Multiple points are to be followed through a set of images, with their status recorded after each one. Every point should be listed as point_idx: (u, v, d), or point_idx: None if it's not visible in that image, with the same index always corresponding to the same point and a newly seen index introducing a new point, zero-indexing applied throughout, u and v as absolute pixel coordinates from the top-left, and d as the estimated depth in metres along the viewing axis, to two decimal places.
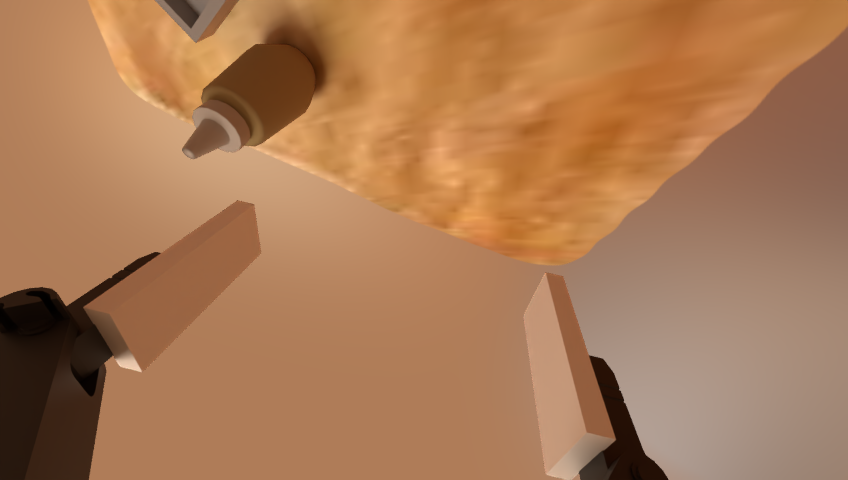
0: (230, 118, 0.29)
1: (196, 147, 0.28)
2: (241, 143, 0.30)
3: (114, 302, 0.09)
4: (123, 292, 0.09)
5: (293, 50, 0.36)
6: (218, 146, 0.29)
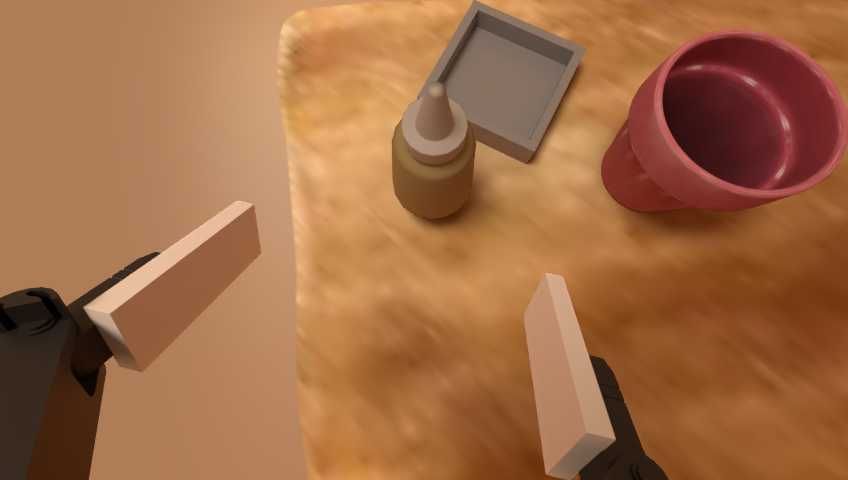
0: (463, 141, 0.22)
1: (445, 101, 0.19)
2: (434, 156, 0.22)
3: (114, 302, 0.09)
4: (123, 292, 0.09)
5: None
6: (432, 128, 0.21)
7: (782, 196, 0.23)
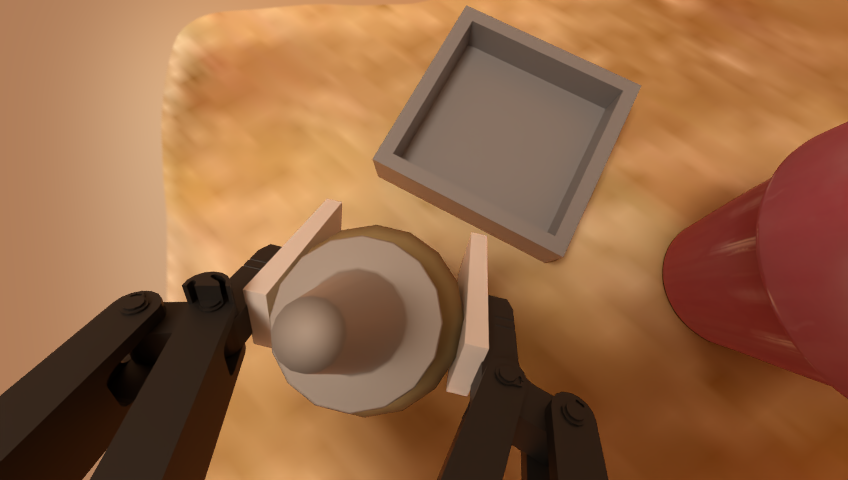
0: None
1: (352, 351, 0.05)
2: (353, 411, 0.08)
3: (265, 285, 0.10)
4: (268, 277, 0.11)
5: None
6: None
7: None
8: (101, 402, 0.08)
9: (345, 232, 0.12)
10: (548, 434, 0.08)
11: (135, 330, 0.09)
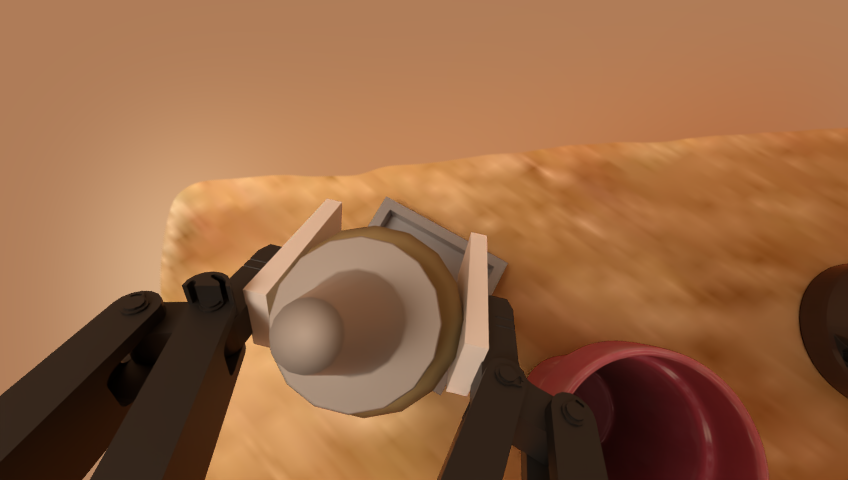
0: None
1: (350, 352, 0.05)
2: (352, 412, 0.08)
3: (265, 285, 0.10)
4: (268, 277, 0.11)
5: None
6: None
7: None
8: (101, 402, 0.08)
9: (344, 232, 0.12)
10: (548, 434, 0.08)
11: (135, 330, 0.09)
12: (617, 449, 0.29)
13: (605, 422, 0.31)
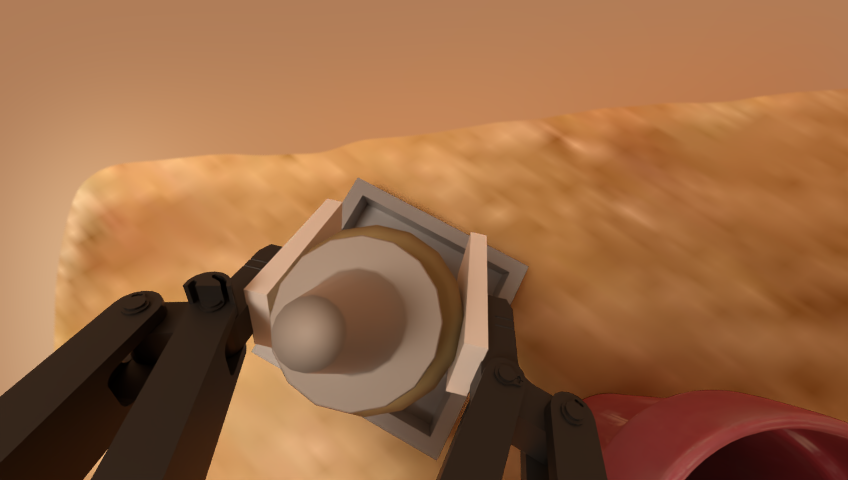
0: None
1: (352, 351, 0.05)
2: (353, 411, 0.08)
3: (266, 285, 0.10)
4: (269, 277, 0.11)
5: None
6: None
7: None
8: (102, 402, 0.08)
9: (345, 232, 0.12)
10: (547, 433, 0.08)
11: (136, 330, 0.09)
12: None
13: None
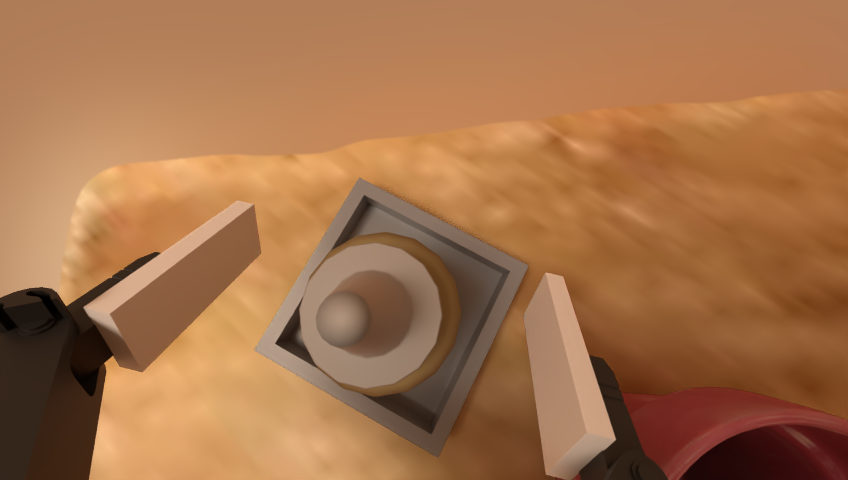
0: None
1: (374, 333, 0.07)
2: (368, 387, 0.10)
3: (114, 302, 0.09)
4: (123, 292, 0.09)
5: None
6: (355, 353, 0.09)
7: None
8: None
9: (358, 238, 0.13)
10: None
11: None
12: None
13: None
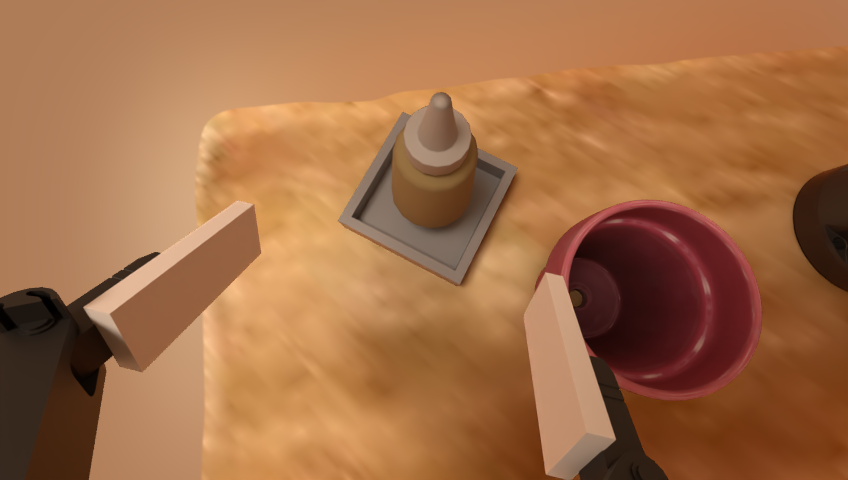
0: (467, 152, 0.22)
1: (450, 112, 0.18)
2: (437, 167, 0.21)
3: (114, 302, 0.09)
4: (123, 292, 0.09)
5: None
6: (436, 138, 0.20)
7: (691, 398, 0.21)
8: None
9: None
10: None
11: None
12: (624, 329, 0.31)
13: (613, 310, 0.33)
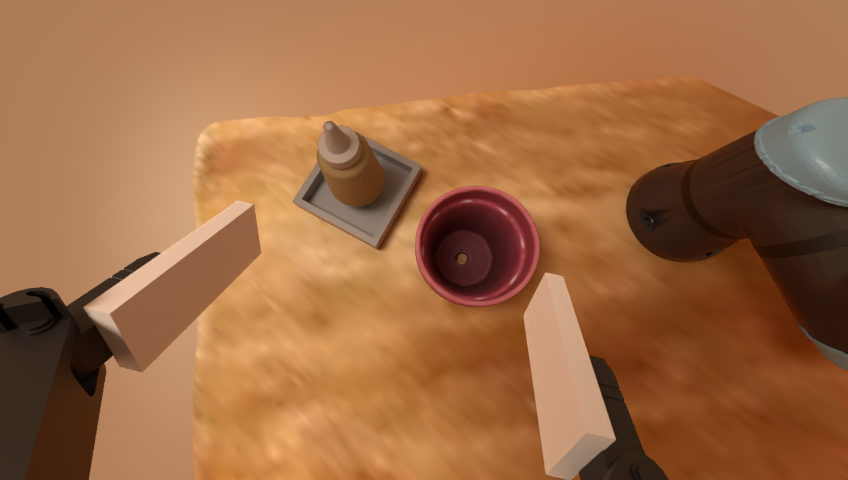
0: (356, 154, 0.36)
1: (336, 132, 0.32)
2: (337, 163, 0.35)
3: (114, 302, 0.09)
4: (123, 292, 0.09)
5: None
6: (332, 146, 0.34)
7: (488, 305, 0.35)
8: None
9: None
10: None
11: None
12: (489, 278, 0.45)
13: (486, 267, 0.47)
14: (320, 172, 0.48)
